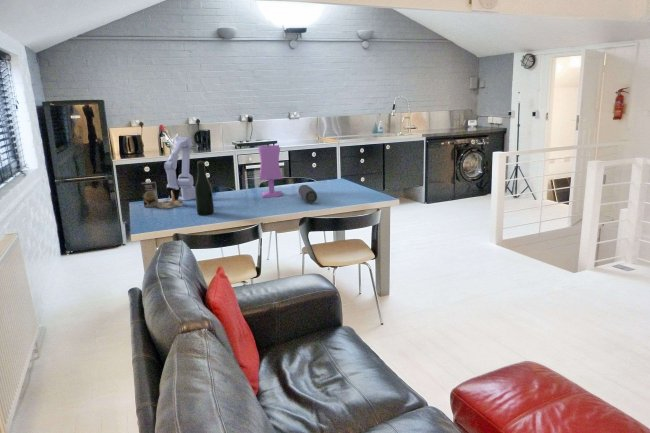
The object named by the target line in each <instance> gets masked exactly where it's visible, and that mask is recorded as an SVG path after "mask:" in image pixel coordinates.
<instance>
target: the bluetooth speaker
mask: <svg viewBox="0 0 650 433" xmlns="http://www.w3.org/2000/svg"><path fill="white" fill-rule="evenodd" d="M298 195H299V196H300V197H301V198H302V199H303V200H304V201H305V202H306V203H308V204H312V203H315V202H316V201H317V200H318V194H317V192H316V190H315V189H314V188H312V187H311V186H309V185H307V184H301V185H300V186H299V187H298Z"/></svg>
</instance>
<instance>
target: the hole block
mask: <svg viewBox="0 0 650 433" xmlns="http://www.w3.org/2000/svg"><path fill="white" fill-rule="evenodd" d="M183 201H184V200H181V199H178V200H177V201H175V202H172V199H168V200H163V201H158V202H157V206H156V207H157V208H159V209H162V210H166V209H170V208H175V207H181V206H184V204H183V203H184V202H183Z"/></svg>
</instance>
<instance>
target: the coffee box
mask: <svg viewBox="0 0 650 433" xmlns="http://www.w3.org/2000/svg"><path fill="white" fill-rule="evenodd" d="M140 186H141V192H142V202H143V207H144V208H150V207H151V208H152V207H153V208H154V207H157V202H159V198H158V189H157V188H158V187H157V182H156V181H147V182H141V185H140Z"/></svg>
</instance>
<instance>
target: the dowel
mask: <svg viewBox="0 0 650 433" xmlns="http://www.w3.org/2000/svg"><path fill="white" fill-rule="evenodd" d="M171 196H172V198H171V200H172V202H175V201H177V200H175V198H174V194H173V192H172V191H171Z"/></svg>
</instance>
